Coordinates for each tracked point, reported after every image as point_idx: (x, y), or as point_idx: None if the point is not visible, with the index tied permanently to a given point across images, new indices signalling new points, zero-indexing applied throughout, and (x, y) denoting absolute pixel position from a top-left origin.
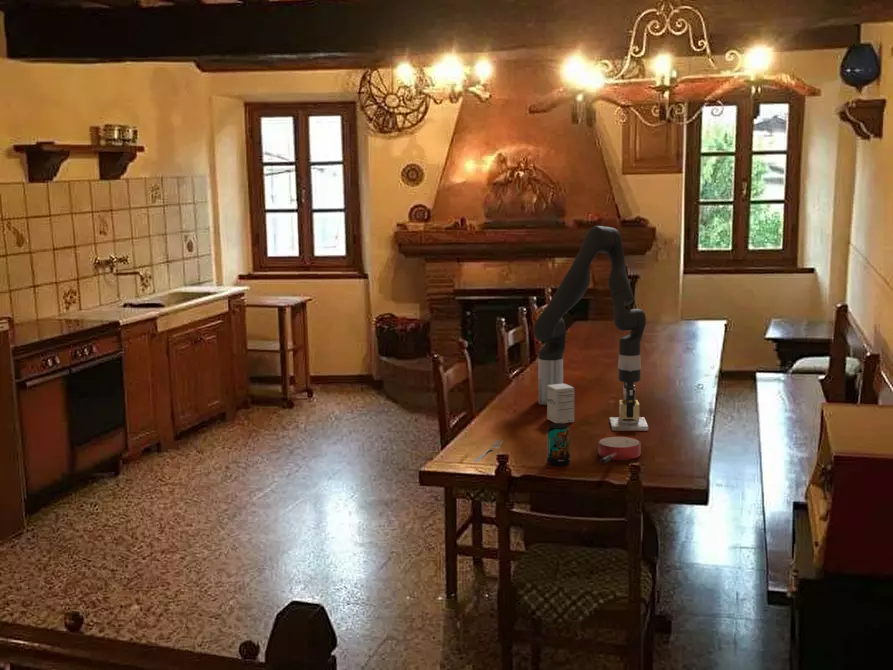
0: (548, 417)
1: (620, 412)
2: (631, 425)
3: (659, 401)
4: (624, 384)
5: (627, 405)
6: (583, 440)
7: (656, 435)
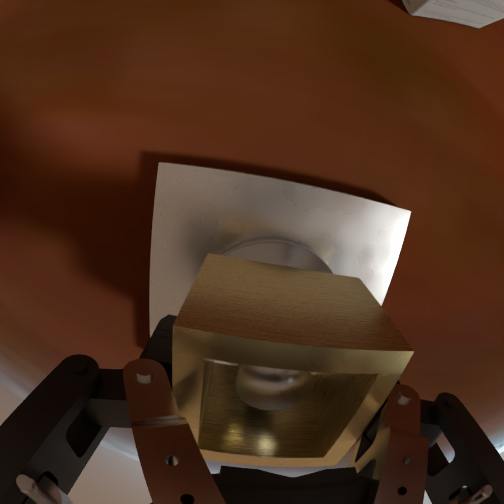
0: None
1: (247, 279)
2: (171, 299)
3: (492, 411)
4: (496, 498)
5: (64, 360)
6: (49, 19)
7: (89, 356)
